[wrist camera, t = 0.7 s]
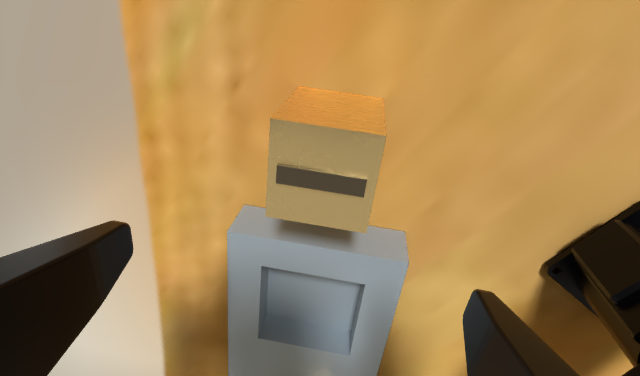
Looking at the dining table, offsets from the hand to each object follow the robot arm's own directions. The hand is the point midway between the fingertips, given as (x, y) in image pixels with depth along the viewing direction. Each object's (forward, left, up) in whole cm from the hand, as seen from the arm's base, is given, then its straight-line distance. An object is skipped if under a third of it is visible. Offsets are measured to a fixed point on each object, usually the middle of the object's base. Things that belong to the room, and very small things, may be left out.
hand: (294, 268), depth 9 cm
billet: (0, 0, -12) cm, 12 cm away
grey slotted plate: (-9, +14, -12) cm, 20 cm away
